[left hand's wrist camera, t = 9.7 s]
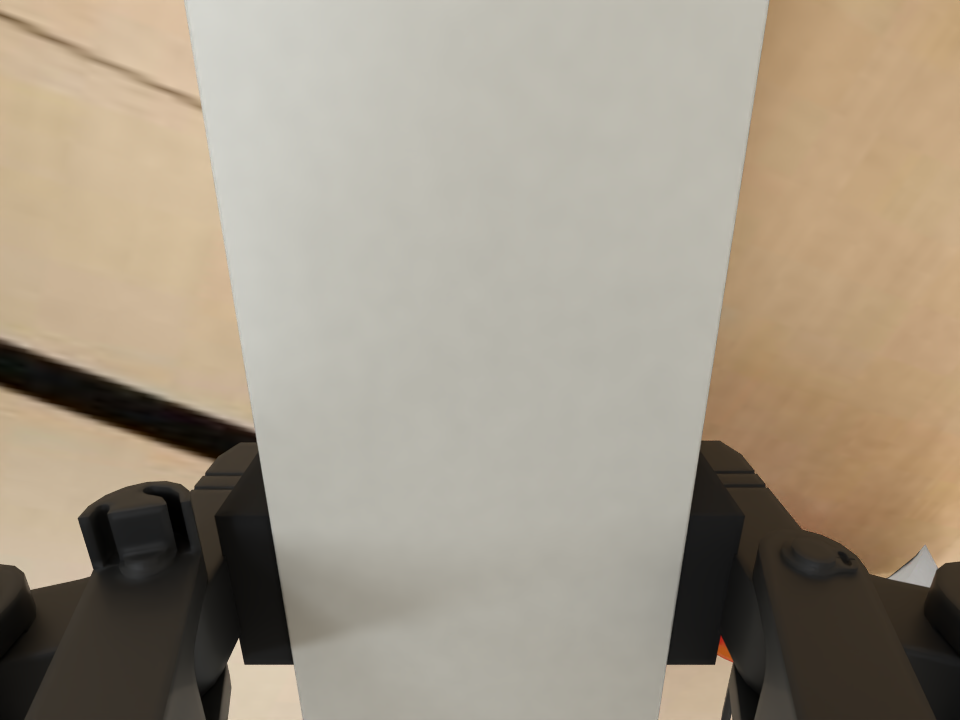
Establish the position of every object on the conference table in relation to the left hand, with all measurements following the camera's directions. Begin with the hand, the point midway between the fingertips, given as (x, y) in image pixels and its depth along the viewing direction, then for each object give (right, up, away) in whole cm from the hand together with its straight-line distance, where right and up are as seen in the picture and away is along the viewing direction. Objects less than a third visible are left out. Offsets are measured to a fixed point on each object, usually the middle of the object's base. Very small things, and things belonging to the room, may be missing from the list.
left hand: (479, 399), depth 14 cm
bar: (0, +21, -8) cm, 23 cm away
